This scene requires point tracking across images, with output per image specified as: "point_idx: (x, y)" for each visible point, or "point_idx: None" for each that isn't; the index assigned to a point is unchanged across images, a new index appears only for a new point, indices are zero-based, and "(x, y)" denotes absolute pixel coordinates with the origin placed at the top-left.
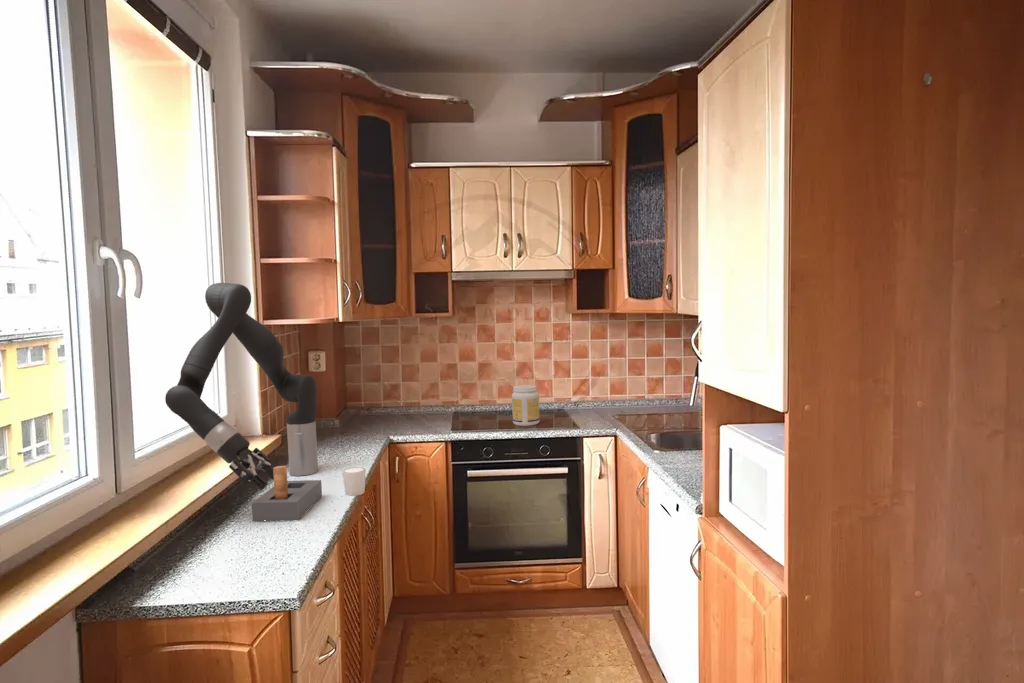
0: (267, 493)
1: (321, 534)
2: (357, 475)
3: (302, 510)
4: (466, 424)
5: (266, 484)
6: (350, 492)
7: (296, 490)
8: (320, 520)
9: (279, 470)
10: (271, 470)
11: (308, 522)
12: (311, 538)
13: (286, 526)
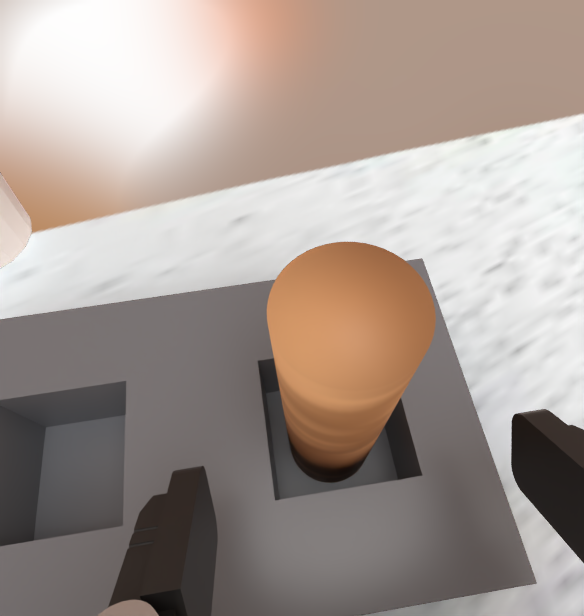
0: (267, 595)
1: (516, 157)
2: None
3: None
4: None
5: (536, 410)
6: (21, 227)
7: (185, 379)
8: (375, 222)
9: (418, 285)
10: (194, 558)
11: (409, 256)
12: (565, 170)
13: (484, 325)
